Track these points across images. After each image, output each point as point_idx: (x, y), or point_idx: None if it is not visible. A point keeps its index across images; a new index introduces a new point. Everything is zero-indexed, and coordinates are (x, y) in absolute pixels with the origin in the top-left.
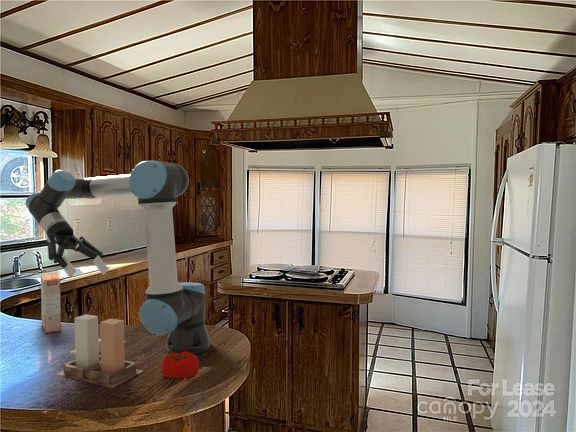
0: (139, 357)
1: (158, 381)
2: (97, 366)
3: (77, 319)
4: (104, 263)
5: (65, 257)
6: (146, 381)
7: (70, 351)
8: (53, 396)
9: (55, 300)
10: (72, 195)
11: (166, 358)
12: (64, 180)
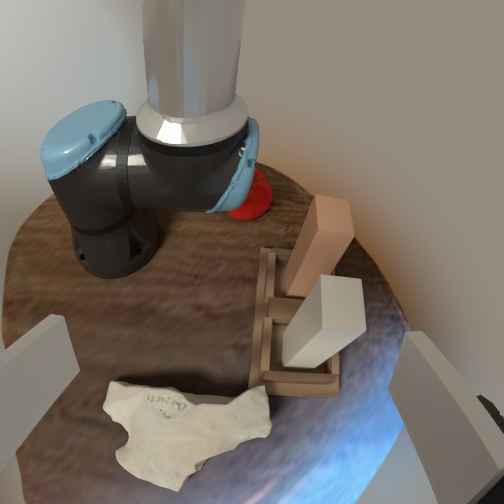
0: (183, 305)
1: (269, 222)
2: None
3: (363, 318)
4: (12, 345)
5: (501, 445)
6: (276, 238)
7: (265, 435)
8: (378, 340)
9: None
10: None
11: (253, 196)
12: None
